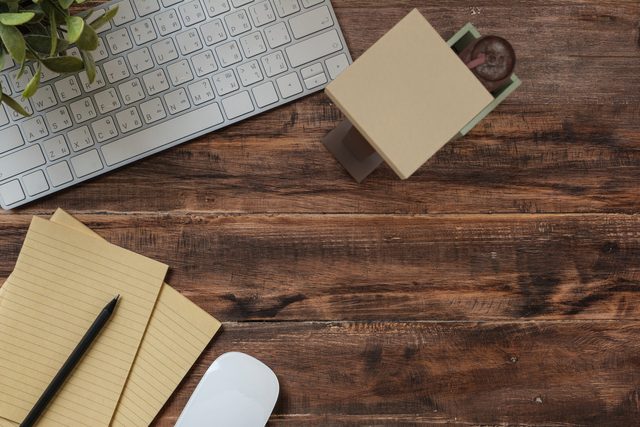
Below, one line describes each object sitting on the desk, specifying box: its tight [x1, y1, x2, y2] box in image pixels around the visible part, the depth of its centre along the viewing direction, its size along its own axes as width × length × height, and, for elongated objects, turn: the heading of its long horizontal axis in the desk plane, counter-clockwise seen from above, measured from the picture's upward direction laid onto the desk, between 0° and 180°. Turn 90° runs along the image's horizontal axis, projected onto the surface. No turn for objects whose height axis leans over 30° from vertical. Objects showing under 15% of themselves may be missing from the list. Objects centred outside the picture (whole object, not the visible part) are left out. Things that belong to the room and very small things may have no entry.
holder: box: [445, 21, 523, 143], centre depth 66 cm, size 11×11×6 cm
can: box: [457, 34, 517, 93], centre depth 62 cm, size 6×6×14 cm
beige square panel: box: [323, 7, 494, 181], centre depth 40 cm, size 10×10×2 cm
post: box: [319, 116, 385, 185], centre depth 54 cm, size 8×8×27 cm
